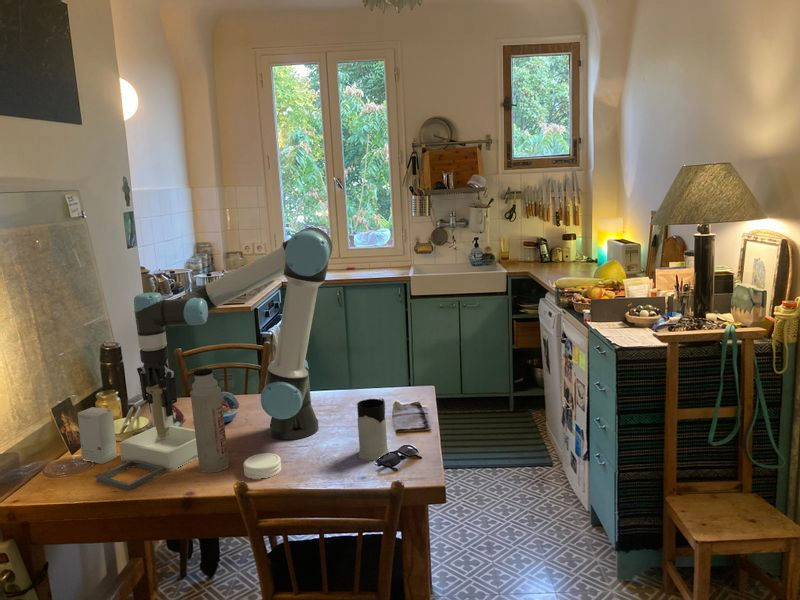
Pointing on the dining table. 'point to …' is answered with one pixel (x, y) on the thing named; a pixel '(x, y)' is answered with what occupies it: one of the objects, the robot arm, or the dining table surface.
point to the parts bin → (161, 447)
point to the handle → (158, 410)
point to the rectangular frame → (155, 472)
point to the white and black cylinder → (372, 429)
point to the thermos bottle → (209, 422)
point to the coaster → (262, 466)
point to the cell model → (229, 406)
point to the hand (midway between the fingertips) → (162, 425)
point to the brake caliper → (176, 421)
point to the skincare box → (97, 435)
